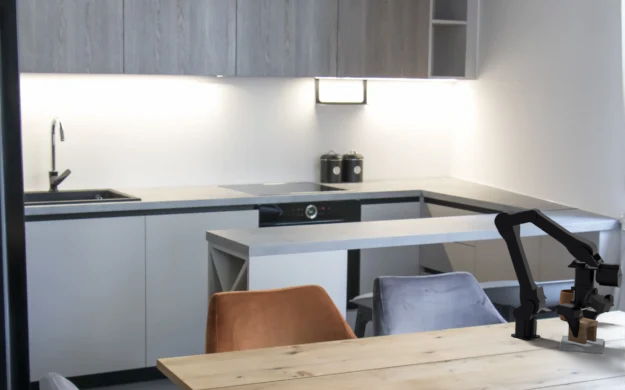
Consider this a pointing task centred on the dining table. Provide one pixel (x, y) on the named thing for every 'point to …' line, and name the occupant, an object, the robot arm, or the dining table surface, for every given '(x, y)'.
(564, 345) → the mat
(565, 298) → the mug
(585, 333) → the stool
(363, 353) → the dining table surface
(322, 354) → the dining table surface
